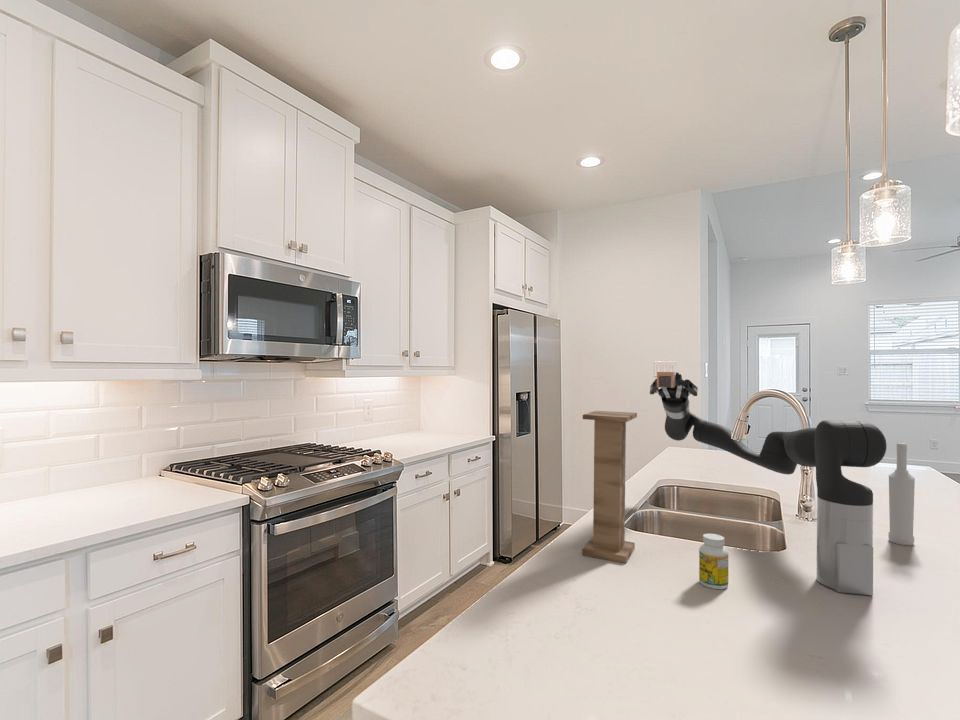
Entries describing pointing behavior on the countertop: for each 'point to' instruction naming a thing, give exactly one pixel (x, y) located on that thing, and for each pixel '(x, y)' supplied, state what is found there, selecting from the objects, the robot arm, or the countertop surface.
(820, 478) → the robot arm
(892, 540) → the bottle
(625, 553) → the stand
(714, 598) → the countertop surface
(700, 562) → the supplement bottle
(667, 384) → the orange and blue box
